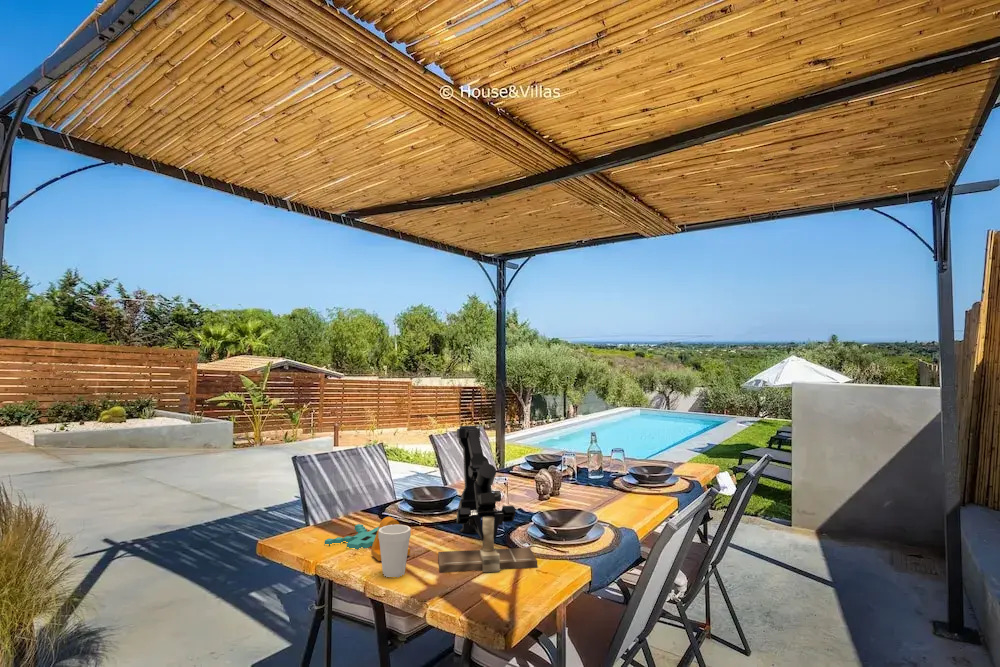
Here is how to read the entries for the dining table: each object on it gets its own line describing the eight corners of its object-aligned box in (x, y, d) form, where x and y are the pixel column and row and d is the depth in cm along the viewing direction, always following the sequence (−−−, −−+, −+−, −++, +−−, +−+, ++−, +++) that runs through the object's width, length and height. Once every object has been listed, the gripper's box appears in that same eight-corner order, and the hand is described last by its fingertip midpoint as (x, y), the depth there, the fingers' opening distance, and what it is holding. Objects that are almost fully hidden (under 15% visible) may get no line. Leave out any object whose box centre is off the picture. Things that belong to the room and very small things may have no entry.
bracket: (378, 564, 166) (379, 524, 167) (371, 556, 172) (371, 519, 173) (410, 557, 172) (411, 519, 173) (402, 550, 178) (403, 514, 179)
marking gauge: (483, 572, 159) (483, 525, 160) (479, 560, 169) (479, 516, 170) (499, 571, 160) (499, 524, 160) (495, 559, 170) (495, 515, 170)
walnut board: (439, 572, 159) (439, 565, 159) (438, 558, 171) (438, 551, 171) (537, 567, 164) (537, 560, 164) (529, 553, 175) (529, 547, 176)
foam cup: (371, 575, 157) (371, 530, 158) (393, 565, 165) (394, 522, 165) (394, 582, 152) (395, 536, 153) (416, 572, 159) (417, 528, 160)
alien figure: (324, 546, 183) (375, 553, 176) (324, 540, 183) (375, 547, 176) (358, 530, 202) (404, 535, 195) (358, 524, 202) (404, 529, 195)
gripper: (458, 482, 171) (461, 528, 160) (514, 480, 175) (522, 524, 163) (455, 501, 178) (458, 546, 167) (509, 499, 182) (516, 542, 170)
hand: (488, 539), depth 167 cm, fingers closed on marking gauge, 4 cm apart
